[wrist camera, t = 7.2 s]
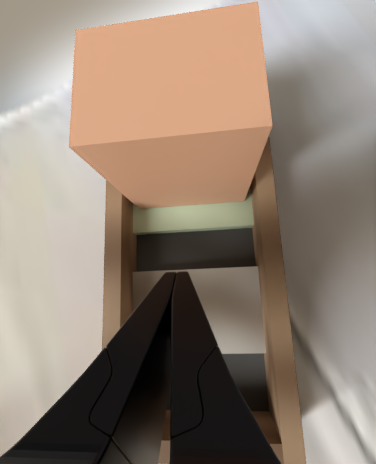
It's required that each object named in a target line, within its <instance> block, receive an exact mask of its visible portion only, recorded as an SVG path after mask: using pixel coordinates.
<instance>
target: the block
mask: <svg viewBox="0 0 376 464" xmlns="http://www.w3.org/2000/svg"><path fill="white" fill-rule="evenodd" d="M272 126H273V125H272V117H271V108H270V100H269V91H268V83H267V74H266V66H265V58H264V49H263V41H262V32H261V24H260V15H259V7H258V2H252V3H246V4H239V5H233V6H227V7H220V8H214V9H208V10H201V11H195V12H189V13H182V14H176V15H170V16H164V17H157V18H151V19H145V20H138V21H131V22H126V23H119V24H112V25H106V26H100V27H93V28H87V29H81V30H76V33H75V50H74V67H73V85H72V103H71V120H70V138H69V147H70V148H71V149H72V150H73V151H74V152H75V153H77V154H78V155H79V156H80V157H81V158H82V159H83V160H85V161H86V162H87V163H88V164H89V165H90V166H91V167H92V168H94V169H95V170H96V171H97V172H98V173H99V174H100V175H102V176H103V177H104V178H105V179H106V180H107V181H108V182H109V183H111V184H112V185H113V186H114V187H115V188H116V189H117V190H119V191H120V192H121V193H122V194H123V195H124V196H125V197H126V198H128V199H129V200H130V201H131V202H132V203H133V204H134V205H136V206H137V207H138V208H139V209H145V208H159V207H172V206H186V205H200V204H213V203H227V202H241V201H244V200H245V198H246V195H247V192H248V190H249V187H250V184H251V182H252V179H253V176H254V174H255V171H256V168H257V166H258V163H259V160H260V158H261V155H262V152H263V150H264V147H265V144H266V142H267V139H268V136H269V134H270V131H271V128H272Z"/></svg>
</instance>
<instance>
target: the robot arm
mask: <svg viewBox="0 0 376 464" xmlns="http://www.w3.org/2000/svg"><path fill="white" fill-rule="evenodd" d="M170 384H171V403H170V438H171V441H170V464H282V463H281V462H280V460H279V458H278V457H277V455H276V454H275V452H274V450H273V449H272V447H271V445H270V444H269V442H268V440H267V438H266V437H265V435H264V433H263V431H262V430H261V428H260V426H259V424H258V423H257V421H256V419H255V417H254V416H253V414H252V412H251V410H250V408H249V407H248V405H247V403H246V401H245V400H244V398H243V396H242V394H241V393H240V391H239V389H238V387H237V385H236V383H235V381H234V379H233V377H232V375H231V373H230V371H229V369H228V367H227V364H226V362H225V360H224V358H223V355H222V353H221V350H220V348H219V347H218V343H217V341H216V339H215V336H214V334H213V331H212V329H211V326H210V324H209V321H208V319H207V317H206V314H205V312H204V309H203V307H202V304H201V302H200V299H199V297H198V295H197V292H196V290H195V287H194V285H193V282H192V280H191V277H190V275H189V273H188V271H179V272H177V273H176V272H165V273H164V274H163V276H162V277H161V278H160V279H159V281H158V282H157V283H156V284H155V286H154V287H153V288H152V289H151V291H150V292H149V293H148V294H147V296H146V297H145V298H144V299H143V301H142V302H141V303H140V304H139V305H138V307H137V308H136V309H135V310H134V312H133V313H132V314H131V315H130V317H129V318H128V319H127V320H126V322H125V323H124V324H123V325H122V327H121V328H120V329H119V330H118V332H117V333H116V334H115V335H114V337H113V338H112V339H111V340H110V342H109V343H108V344H107V345H106V348H104V349H103V350H102V351H101V353H100V354H99V355H98V356H97V358H96V359H95V360H94V361H93V362H92V363H91V365H90V366H89V367H88V368H87V369H86V371H85V372H84V373H83V374H82V375H81V376H80V377H79V378H78V379H77V381H76V382H75V383H74V384H73V385H72V386H71V387H70V388H69V389H68V390H67V391H66V392H65V394H64V395H63V396H62V397H61V398H60V399H59V400H58V401H57V402H56V403H55V404H54V405H53V406H52V407H51V408H50V409H49V410H48V411H47V412H46V413H45V414H44V416H43V417H42V418H41V419H40V420H39V421H38V422H37V423H36V424H35V425H34V426H33V427H32V428H31V429H30V430H29V431H28V432H27V433H26V434H25V435H24V436H23V437H22V438H21V439H20V440H19V441H18V442H17V443H16V444H15V445H14V446H13V447H12V448H11V449H9V450H8V451H7V452H6V453H4V454H3V455H2V456H1V457H0V464H158V460H159V454H160V447H161V441H162V434H163V428H164V422H165V415H166V409H167V403H168V396H169V390H170Z"/></svg>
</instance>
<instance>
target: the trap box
mask: <svg viewBox="0 0 376 464" xmlns="http://www.w3.org/2000/svg"><path fill="white" fill-rule="evenodd" d="M179 271H188V273H189V275H190V277H191V280H192V282H193V285H194V287H195V290H196V292H197V295H198V297H199V299H200V302H201V304H202V307H203V309H204V312H205V314H206V317H207V319H208V321H209V324H210V326H211V329H212V331H213V334H214V336H215V339H216V341H217V343H218V347H219V348H220V350H221V353H222V355H223V358H224V360H225V362H226V364H227V367H228V369H229V371H230V373H231V375H232V377H233V379H234V381H235V383H236V385H237V387H238V389H239V391H240V393H241V394H242V396H243V398H244V400H245V401H246V403H247V405H248V407H249V408H250V410H251V412H252V414H253V416H254V417H255V419H256V421H257V423H258V424H259V426H260V428H261V430H262V431H263V433H264V435H265V437H266V438H267V440H268V442H269V444H270V445H271V447H272V449H273V450H274V452H275V454H276V455H277V457H278V458H279V460H280V462H281V463H282V464H306V456H305V448H304V439H303V430H302V421H301V413H300V404H299V395H298V386H297V377H296V369H295V360H294V351H293V342H292V334H291V325H290V316H289V307H288V298H287V290H286V281H285V272H284V263H283V255H282V246H281V237H280V228H279V219H278V211H277V202H276V193H275V184H274V176H273V167H272V158H271V149H270V140H269V136H268V139H267V142H266V144H265V147H264V150H263V152H262V155H261V158H260V160H259V163H258V166H257V168H256V171H255V174H254V176H253V179H252V182H251V184H250V187H249V190H248V192H247V195H246V198H245V200H244V201H241V202H227V203H213V204H200V205H186V206H172V207H159V208H145V209H139V208H138V207H137V206H136V205H134V204H133V203H132V202H131V201H130V200H129V199H128V198H126V197H125V196H124V195H123V194H122V193H121V192H120V191H119V190H117V189H116V188H115V187H114V186H113V185H112V184H111V183H109V182H108V181H107V180H106V213H105V254H104V295H103V336H102V350H103V349H104V348H106V345H107V344H108V343H109V342H110V340H111V339H112V338H113V337H114V335H115V334H116V333H117V332H118V330H119V329H120V328H121V327H122V325H123V324H124V323H125V322H126V320H127V319H128V318H129V317H130V315H131V314H132V313H133V312H134V310H135V309H136V308H137V307H138V305H139V304H140V303H141V302H142V301H143V299H144V298H145V297H146V296H147V294H148V293H149V292H150V291H151V289H152V288H153V287H154V286H155V284H156V283H157V282H158V281H159V279H160V278H161V277H162V276H163V274H164V273H165V272H176V273H177V272H179ZM170 403H171V384H170V390H169V396H168V403H167V409H166V415H165V422H164V428H163V434H162V441H161V447H160V454H159V460H158V464H170V441H171V438H170Z"/></svg>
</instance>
